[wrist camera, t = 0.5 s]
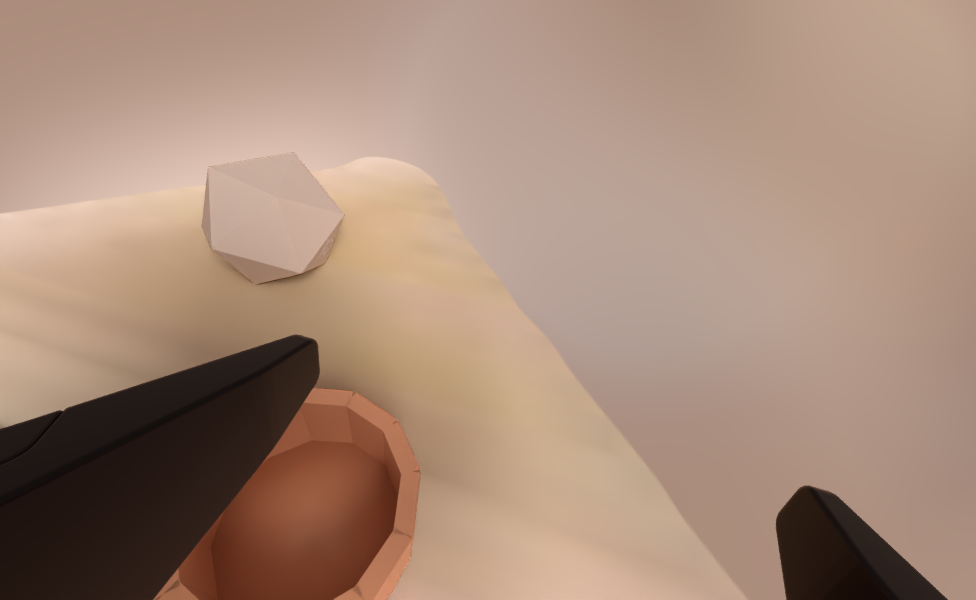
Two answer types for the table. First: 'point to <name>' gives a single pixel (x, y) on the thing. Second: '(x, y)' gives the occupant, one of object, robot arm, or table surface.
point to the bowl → (314, 513)
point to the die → (269, 217)
